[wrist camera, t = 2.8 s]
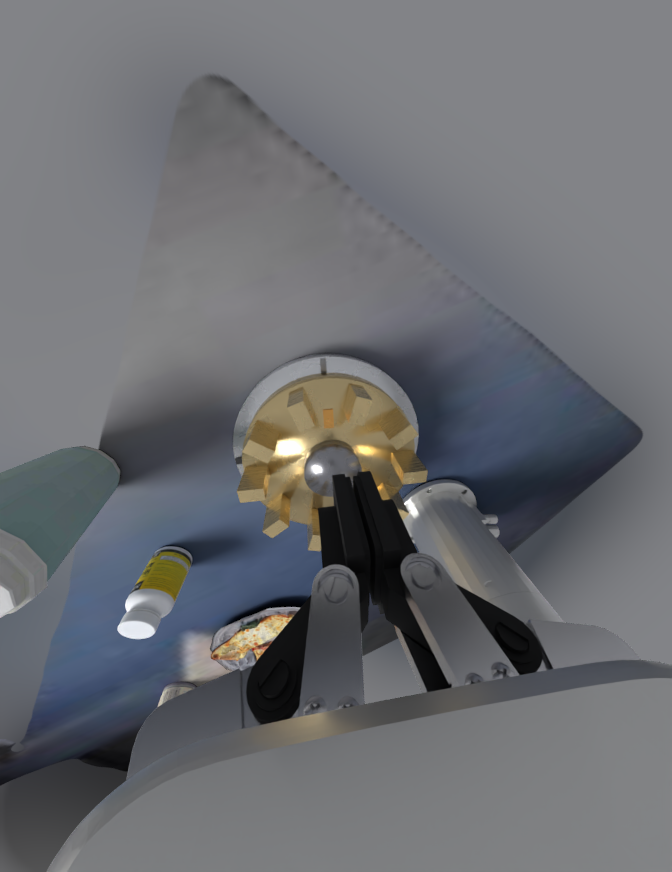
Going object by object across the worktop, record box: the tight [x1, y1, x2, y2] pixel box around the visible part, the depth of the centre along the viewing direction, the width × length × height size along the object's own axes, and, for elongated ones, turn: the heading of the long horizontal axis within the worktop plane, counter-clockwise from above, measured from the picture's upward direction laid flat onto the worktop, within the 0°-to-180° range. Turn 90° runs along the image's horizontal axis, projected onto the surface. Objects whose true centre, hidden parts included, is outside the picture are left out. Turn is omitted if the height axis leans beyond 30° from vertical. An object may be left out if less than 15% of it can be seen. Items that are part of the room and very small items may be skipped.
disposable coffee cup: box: [0, 446, 120, 618], centre depth 24 cm, size 11×11×15 cm
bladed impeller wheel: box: [237, 373, 428, 551], centre depth 28 cm, size 19×19×6 cm
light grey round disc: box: [233, 353, 419, 476], centre depth 32 cm, size 22×22×2 cm
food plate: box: [210, 607, 300, 671], centre depth 51 cm, size 25×23×4 cm
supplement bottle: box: [118, 546, 192, 639], centre depth 34 cm, size 5×5×10 cm
